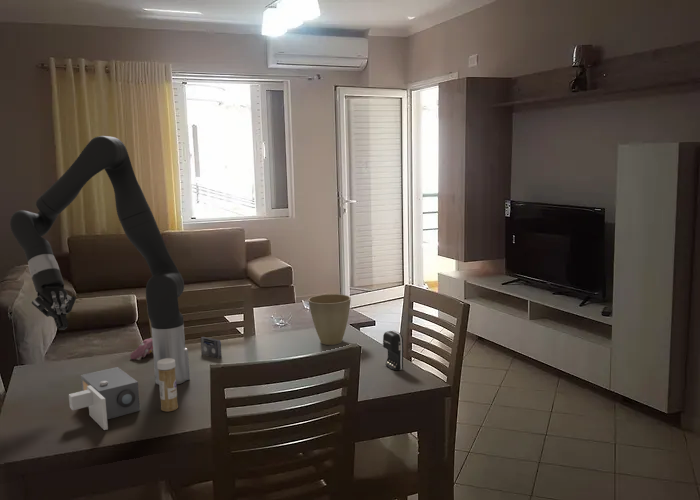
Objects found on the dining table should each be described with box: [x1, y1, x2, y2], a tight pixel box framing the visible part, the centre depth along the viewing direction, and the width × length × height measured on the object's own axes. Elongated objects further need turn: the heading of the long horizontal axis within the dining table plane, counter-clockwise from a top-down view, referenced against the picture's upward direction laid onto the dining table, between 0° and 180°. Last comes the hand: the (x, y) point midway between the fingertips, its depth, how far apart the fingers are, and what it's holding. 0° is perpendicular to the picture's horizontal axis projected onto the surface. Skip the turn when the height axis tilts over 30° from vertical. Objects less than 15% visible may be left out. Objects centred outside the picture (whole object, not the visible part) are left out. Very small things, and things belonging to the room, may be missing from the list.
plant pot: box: [308, 293, 352, 346], centre depth 224 cm, size 15×15×16 cm
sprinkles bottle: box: [157, 358, 179, 412], centre depth 168 cm, size 5×5×14 cm
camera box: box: [80, 366, 141, 420], centre depth 170 cm, size 10×17×9 cm, turn 38°
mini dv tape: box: [200, 336, 223, 359], centre depth 213 cm, size 8×2×6 cm, turn 54°
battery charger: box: [382, 330, 404, 371], centre depth 196 cm, size 7×4×11 cm, turn 27°
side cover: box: [68, 385, 109, 431], centre depth 159 cm, size 6×12×8 cm, turn 38°
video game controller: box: [129, 337, 153, 360], centre depth 215 cm, size 10×5×7 cm, turn 170°
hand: (63, 328), depth 175 cm, fingers closed
